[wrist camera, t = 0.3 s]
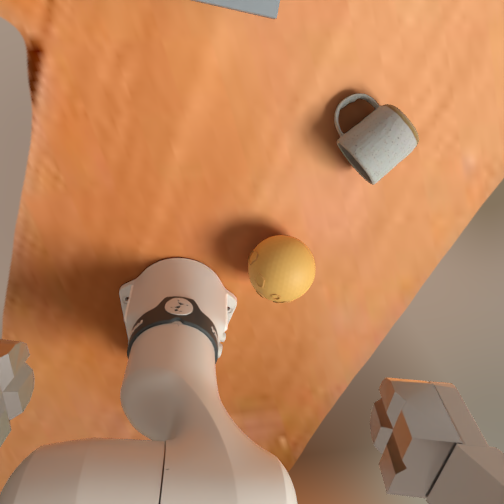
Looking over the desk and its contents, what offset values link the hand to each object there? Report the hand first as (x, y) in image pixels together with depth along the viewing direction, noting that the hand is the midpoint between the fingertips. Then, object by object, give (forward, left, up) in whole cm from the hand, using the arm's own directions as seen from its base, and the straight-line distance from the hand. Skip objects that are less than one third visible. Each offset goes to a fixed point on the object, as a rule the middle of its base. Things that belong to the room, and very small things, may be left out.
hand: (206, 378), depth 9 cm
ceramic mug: (-1, -21, -48) cm, 53 cm away
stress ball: (-21, -14, -48) cm, 54 cm away
